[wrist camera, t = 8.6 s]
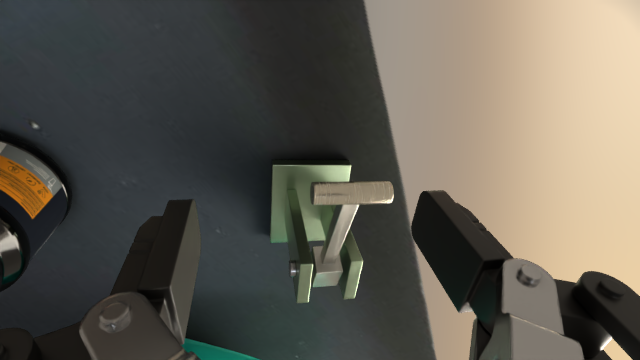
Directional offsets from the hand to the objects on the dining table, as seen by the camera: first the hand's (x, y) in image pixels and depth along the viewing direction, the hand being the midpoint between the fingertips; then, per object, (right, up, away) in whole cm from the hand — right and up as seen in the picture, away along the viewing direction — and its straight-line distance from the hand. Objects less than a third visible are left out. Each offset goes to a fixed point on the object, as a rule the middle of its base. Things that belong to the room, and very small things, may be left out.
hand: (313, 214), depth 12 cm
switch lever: (+1, -2, +13) cm, 13 cm away
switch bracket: (-1, -1, +24) cm, 24 cm away
